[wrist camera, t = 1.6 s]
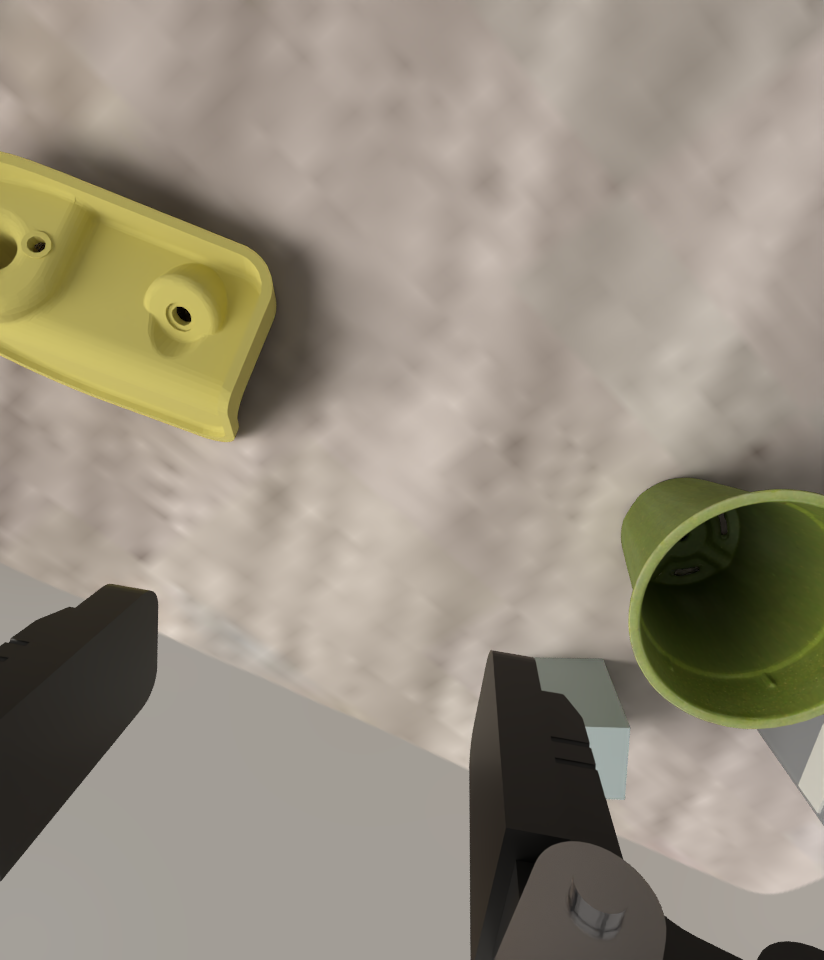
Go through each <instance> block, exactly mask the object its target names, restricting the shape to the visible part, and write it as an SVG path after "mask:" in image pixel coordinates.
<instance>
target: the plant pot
mask: <svg viewBox="0 0 824 960" xmlns="http://www.w3.org/2000/svg"><path fill="white" fill-rule="evenodd" d="M722 513H724V516H725V519H726V522H727V527H728V528H727V530H728V532H727V534H726V535H723V534H721V526H720V520H719V517H718V515H719V514H722ZM686 534H688V536H687V538H686V539H684V540H680V539H681V538H682V537H684V536H685V535H686ZM621 543H622V548H623V552H624V556H625V560H626V565H627V569H628V572H629V576H630V580H631V584H632V588H633V592H632V596H631V600H630V607H629V635H630V641H631V645H632V649H633V652H634V655H635V658H636V660H637V663H638V665H639V667H640V669H641V670H642V672H643V674H644V675H645V677H646V678H647V680H648V681H649V683H650V684H651V685H652V686H653V688H654V689H655V690H656V691H657V692H658V693H659V694H660V695H661V696H662V697H664V698H665V699H666V700H667V701H669V702H670V703H672V704H673V705H675V706H676V707H678V708H679V709H681V710H682V711H684V712H686V713H688V714H690V715H692V716H694V717H696V718H699V719H701V720H704V721H707V722H710V723H714V724H718V725H722V726H727V727H733V728H742V729H765V728H776V727H781V726H787V725H792V724H796V723H800V722H804V721H807V720H810V719H812V718H815V717H817V716H820V715H823V714H824V495H822V494H818V493H814V492H808V491H802V490H792V489H772V490H761V491H754V492H748V491H744V490H740V489H737V488H733V487H729V486H725V485H721V484H717V483H714V482H710V481H706V480H701V479H696V478H675V479H670V480H666V481H663V482H661V483H658V484H656V485H654V486H652V487H651V488H649V489H647V490H646V491H645V492H643V493H642V494H641V495H640V496H639V497H638V498H637V499H636V501H635V502H634V504H633V505H632V506H631V508H630V510H629V511H628V513H627V515H626V516H625V518H624V520H623V524H622V530H621ZM721 547H722V548H721ZM702 565H703V566H702ZM695 566H698V567H699V571H697V572H694V573H691V574H687V575H678V576H676V575H674V573H675V571H676V570H677V569H685V568H695ZM659 574H660V575H659Z"/></svg>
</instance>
